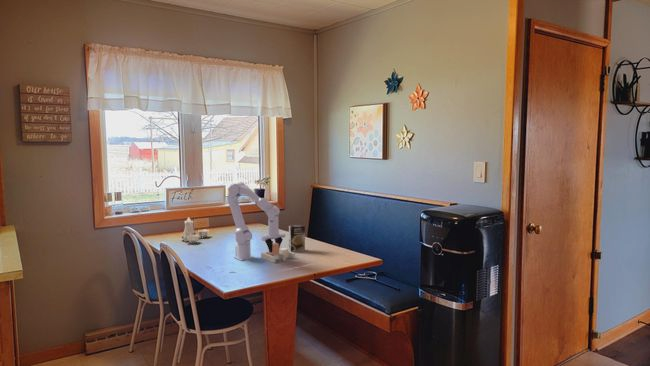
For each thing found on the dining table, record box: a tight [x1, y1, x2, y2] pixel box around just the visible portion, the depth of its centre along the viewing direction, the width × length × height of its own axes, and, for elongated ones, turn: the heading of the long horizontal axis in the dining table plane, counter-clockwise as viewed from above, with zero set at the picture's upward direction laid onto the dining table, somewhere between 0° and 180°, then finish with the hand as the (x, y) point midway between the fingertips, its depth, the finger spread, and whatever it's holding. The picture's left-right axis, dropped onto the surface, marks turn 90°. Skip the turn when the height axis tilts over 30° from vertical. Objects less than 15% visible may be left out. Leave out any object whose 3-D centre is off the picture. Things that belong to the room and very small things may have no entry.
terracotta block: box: [269, 242, 280, 255], centre depth 247 cm, size 4×4×6 cm
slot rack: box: [260, 250, 297, 264], centre depth 250 cm, size 16×15×4 cm
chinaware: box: [181, 217, 210, 244], centre depth 302 cm, size 28×17×17 cm, turn 179°
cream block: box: [279, 247, 289, 258], centre depth 252 cm, size 4×4×5 cm
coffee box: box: [288, 224, 306, 253], centre depth 268 cm, size 9×6×16 cm
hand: (274, 251), depth 248 cm, fingers closed on terracotta block, 4 cm apart
